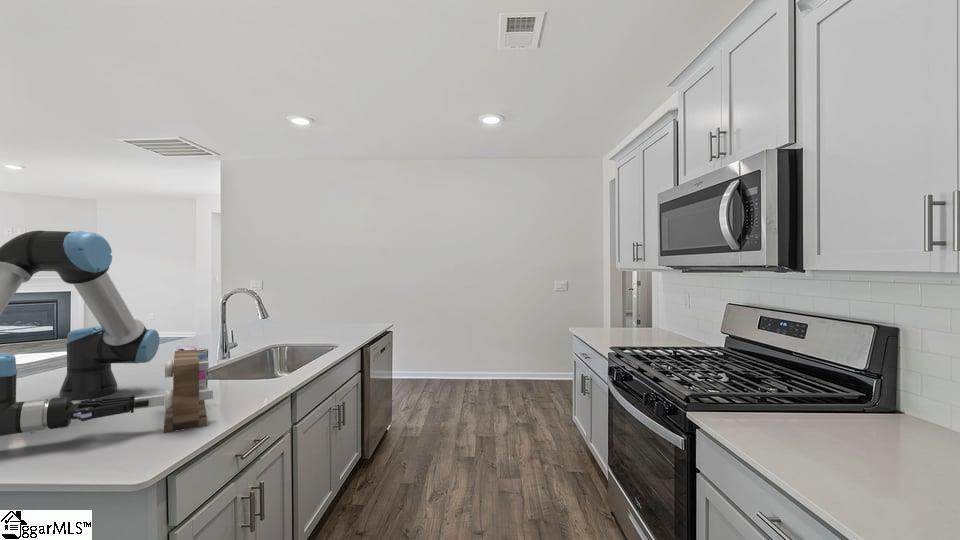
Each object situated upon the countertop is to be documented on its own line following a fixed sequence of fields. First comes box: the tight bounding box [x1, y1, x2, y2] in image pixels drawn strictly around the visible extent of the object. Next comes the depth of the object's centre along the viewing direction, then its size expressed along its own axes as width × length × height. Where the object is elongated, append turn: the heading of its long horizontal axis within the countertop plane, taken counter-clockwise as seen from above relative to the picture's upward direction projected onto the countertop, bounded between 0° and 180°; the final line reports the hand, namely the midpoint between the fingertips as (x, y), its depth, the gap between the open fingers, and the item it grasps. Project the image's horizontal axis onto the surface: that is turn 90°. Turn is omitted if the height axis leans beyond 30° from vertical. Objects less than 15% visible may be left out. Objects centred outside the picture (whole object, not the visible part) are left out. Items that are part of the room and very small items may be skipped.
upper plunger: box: [164, 360, 210, 378], centre depth 143 cm, size 5×12×5 cm, turn 123°
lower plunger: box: [164, 388, 214, 410], centre depth 129 cm, size 5×12×5 cm, turn 123°
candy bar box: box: [177, 346, 209, 390], centre depth 156 cm, size 11×5×16 cm, turn 58°
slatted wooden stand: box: [163, 349, 208, 433], centre depth 135 cm, size 24×10×18 cm, turn 33°
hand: (163, 400), depth 126 cm, fingers closed
